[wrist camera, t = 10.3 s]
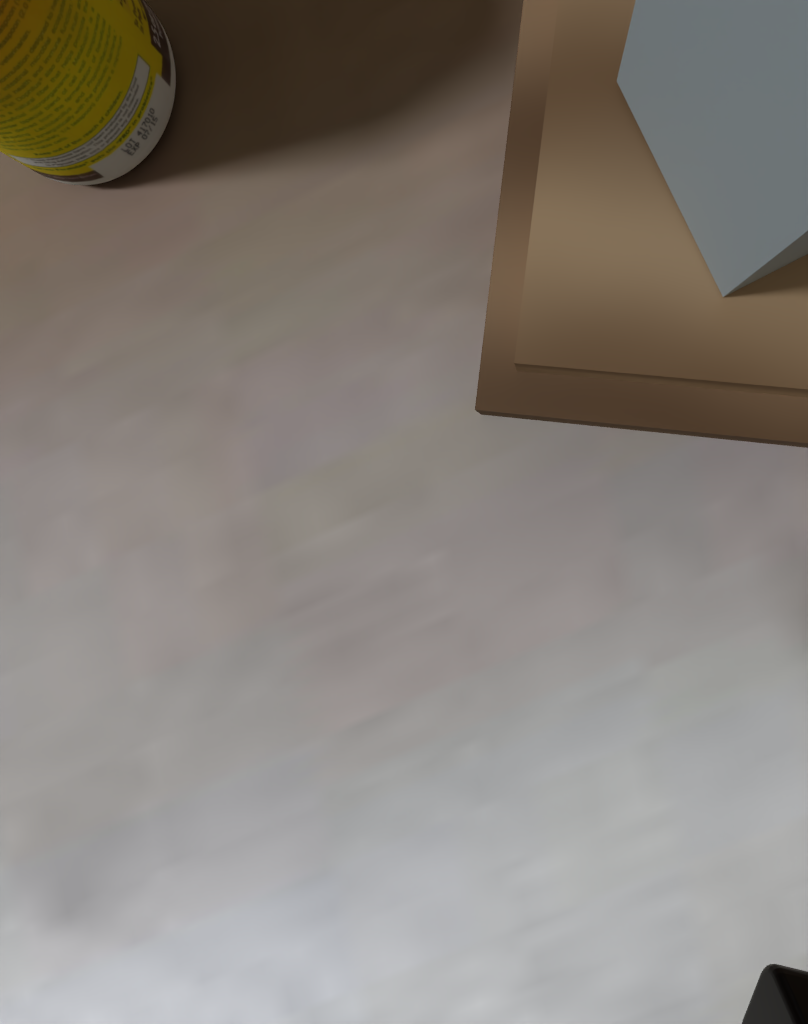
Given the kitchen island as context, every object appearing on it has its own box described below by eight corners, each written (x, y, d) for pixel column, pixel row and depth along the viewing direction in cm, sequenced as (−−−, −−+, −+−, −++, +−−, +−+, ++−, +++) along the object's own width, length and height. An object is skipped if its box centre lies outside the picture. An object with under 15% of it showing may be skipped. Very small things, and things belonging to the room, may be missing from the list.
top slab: (980, 413, 16) (1024, 408, 15) (516, 371, 18) (513, 362, 16) (1068, -78, 15) (1123, -135, 14) (570, -71, 17) (573, -122, 16)
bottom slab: (966, 465, 18) (1030, 465, 16) (483, 415, 21) (474, 409, 18) (1056, -47, 17) (1140, -130, 15) (538, -43, 20) (537, -116, 17)
